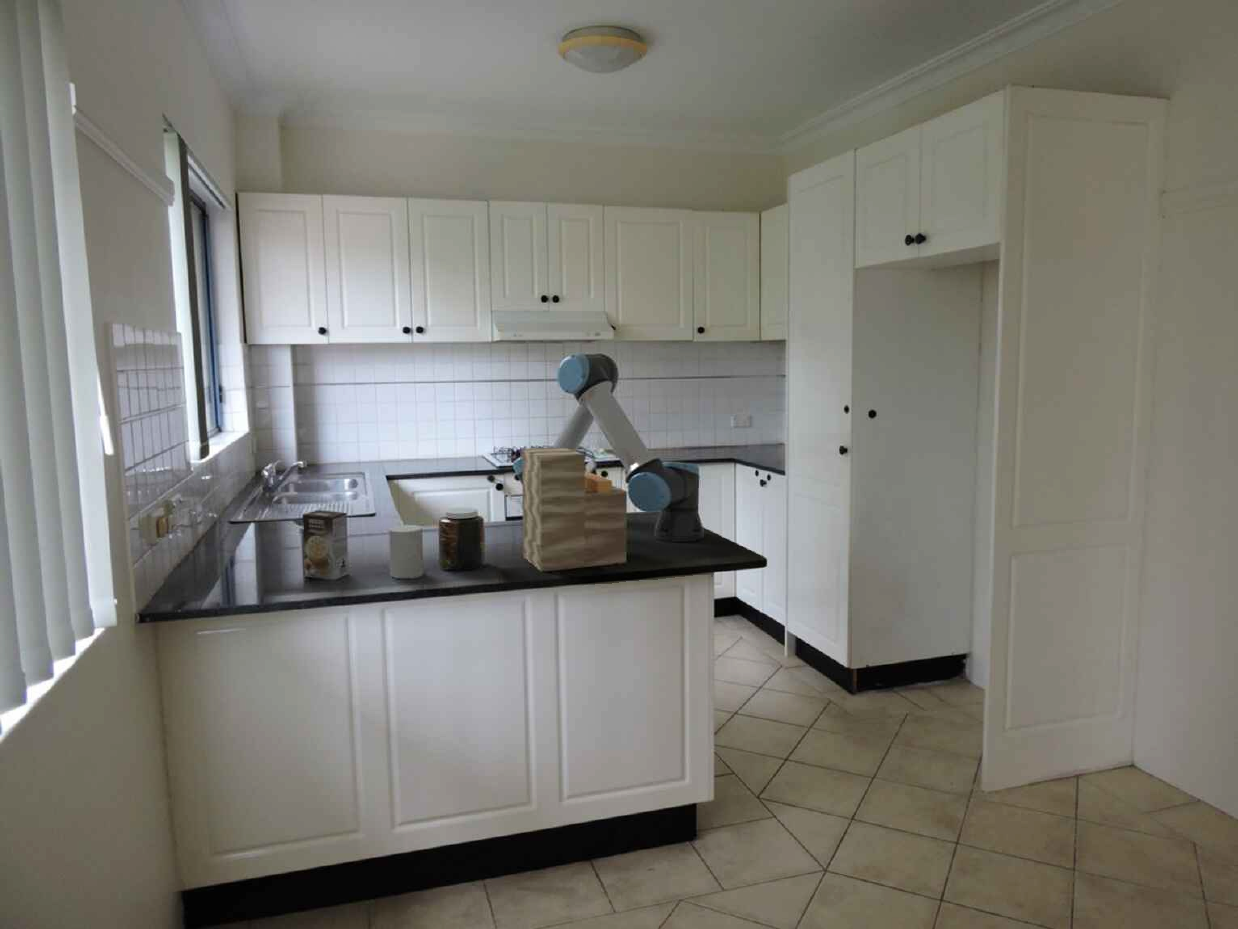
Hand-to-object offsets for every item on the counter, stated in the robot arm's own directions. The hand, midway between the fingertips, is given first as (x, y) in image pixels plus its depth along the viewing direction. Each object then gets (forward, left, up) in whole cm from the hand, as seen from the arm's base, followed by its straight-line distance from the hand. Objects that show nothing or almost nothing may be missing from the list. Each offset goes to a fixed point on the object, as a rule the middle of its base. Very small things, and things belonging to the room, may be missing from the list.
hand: (572, 463), depth 244 cm
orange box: (-4, +10, -5) cm, 12 cm away
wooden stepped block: (0, +17, -24) cm, 30 cm away
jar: (+29, +22, -25) cm, 44 cm away
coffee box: (+62, +30, -25) cm, 74 cm away
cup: (+42, +30, -25) cm, 58 cm away
